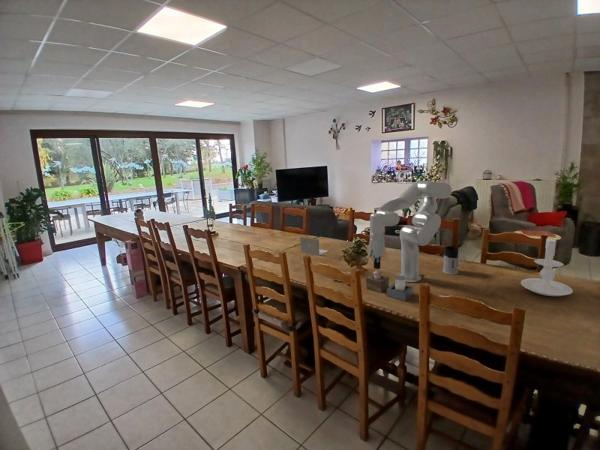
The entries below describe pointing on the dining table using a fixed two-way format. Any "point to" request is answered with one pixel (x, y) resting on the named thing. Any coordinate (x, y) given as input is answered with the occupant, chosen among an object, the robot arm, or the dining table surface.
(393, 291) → the cartridge housing
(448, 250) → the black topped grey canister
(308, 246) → the laptop
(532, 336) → the dining table surface
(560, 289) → the candlestick
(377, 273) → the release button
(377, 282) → the grey square box
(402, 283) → the filter cartridge
